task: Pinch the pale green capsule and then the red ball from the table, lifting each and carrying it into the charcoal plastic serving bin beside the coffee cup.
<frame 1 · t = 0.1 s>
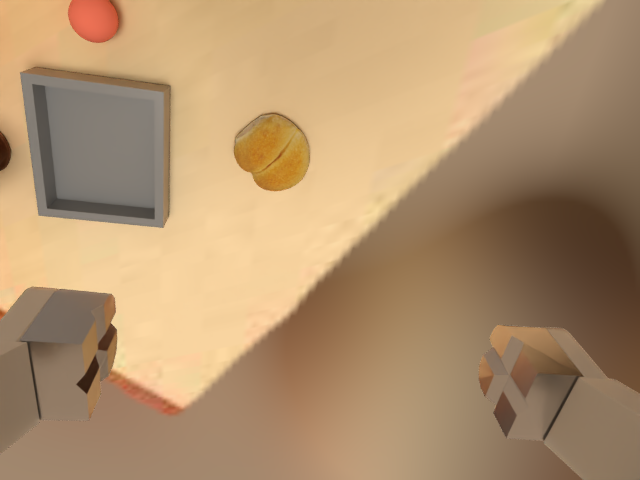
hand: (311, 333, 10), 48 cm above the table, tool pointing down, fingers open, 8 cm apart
red ball: (93, 18, 47), point 2 cm above the table
bin: (107, 147, 56), on the table
bread roll: (272, 149, 58), on the table
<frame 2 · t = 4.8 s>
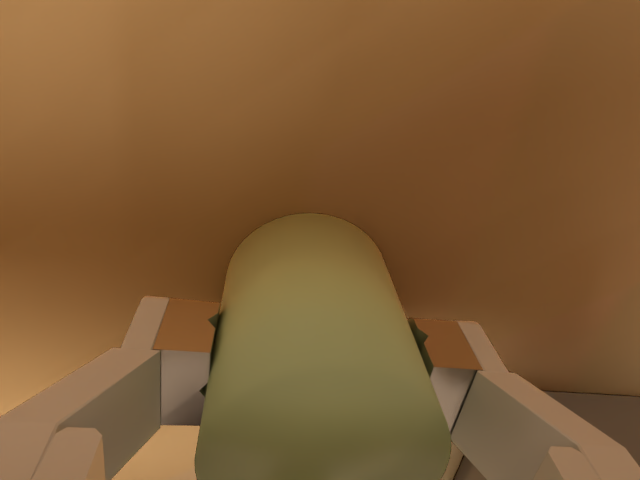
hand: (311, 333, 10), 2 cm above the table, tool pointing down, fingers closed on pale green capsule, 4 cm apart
pale green capsule: (307, 286, 12), on the table, touching gripper
when the fingers open (5 cm above the table, at t = 9.4 s): pale green capsule drops 3 cm, resting on bin.
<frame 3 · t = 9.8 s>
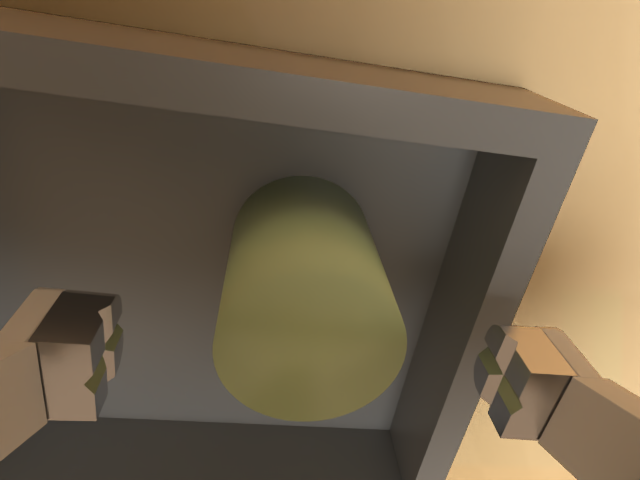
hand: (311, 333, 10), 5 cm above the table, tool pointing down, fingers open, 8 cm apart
bin: (216, 275, 15), on the table
pale green capsule: (300, 239, 14), point 1 cm above the table, touching bin
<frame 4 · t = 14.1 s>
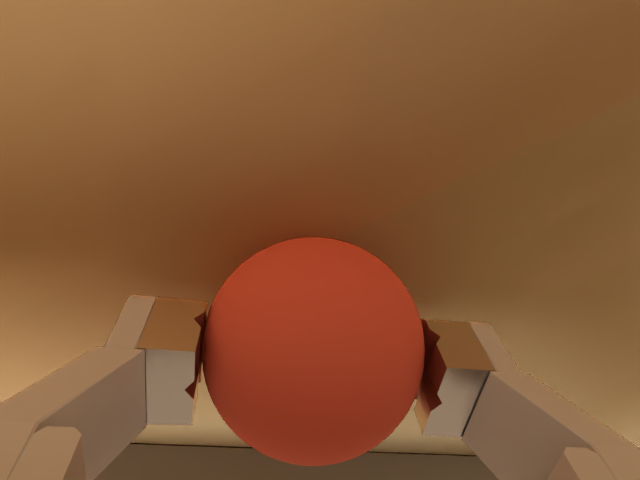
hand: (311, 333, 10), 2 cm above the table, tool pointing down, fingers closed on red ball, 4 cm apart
red ball: (313, 345, 10), point 2 cm above the table, touching gripper
when the fingers open (5 cm above the table, at t = 18.5 s): red ball drops 3 cm, resting on bin.
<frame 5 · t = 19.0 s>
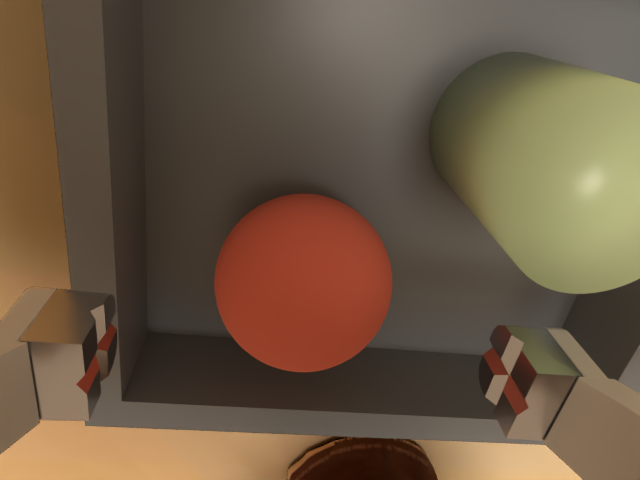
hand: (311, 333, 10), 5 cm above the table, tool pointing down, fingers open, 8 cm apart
red ball: (303, 281, 12), point 3 cm above the table, touching bin
bin: (394, 176, 14), on the table
coffee cup: (357, 472, 21), on the table
pale green capsule: (500, 129, 13), point 1 cm above the table, touching bin
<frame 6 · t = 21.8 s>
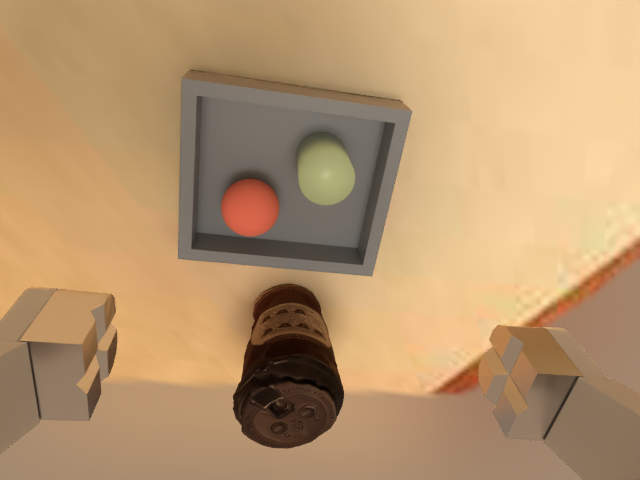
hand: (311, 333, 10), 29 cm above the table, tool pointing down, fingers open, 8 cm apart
red ball: (250, 207, 37), point 3 cm above the table, touching bin
bin: (287, 173, 39), on the table
coffee cup: (286, 307, 46), on the table
pale green capsule: (321, 156, 38), point 1 cm above the table, touching bin
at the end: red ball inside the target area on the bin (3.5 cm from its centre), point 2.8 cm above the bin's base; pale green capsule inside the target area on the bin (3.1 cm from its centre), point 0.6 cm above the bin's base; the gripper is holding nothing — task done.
